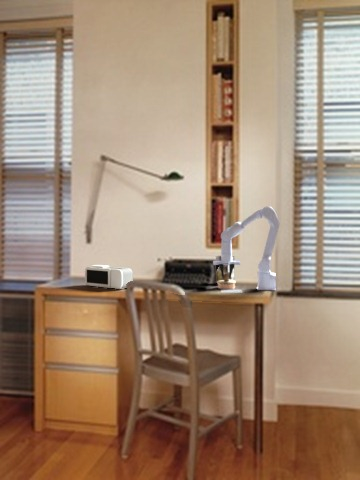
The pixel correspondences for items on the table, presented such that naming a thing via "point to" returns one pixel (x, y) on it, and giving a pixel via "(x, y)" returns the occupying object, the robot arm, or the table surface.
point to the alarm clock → (108, 276)
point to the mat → (231, 291)
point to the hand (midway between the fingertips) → (226, 278)
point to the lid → (226, 280)
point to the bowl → (226, 286)
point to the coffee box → (226, 270)
